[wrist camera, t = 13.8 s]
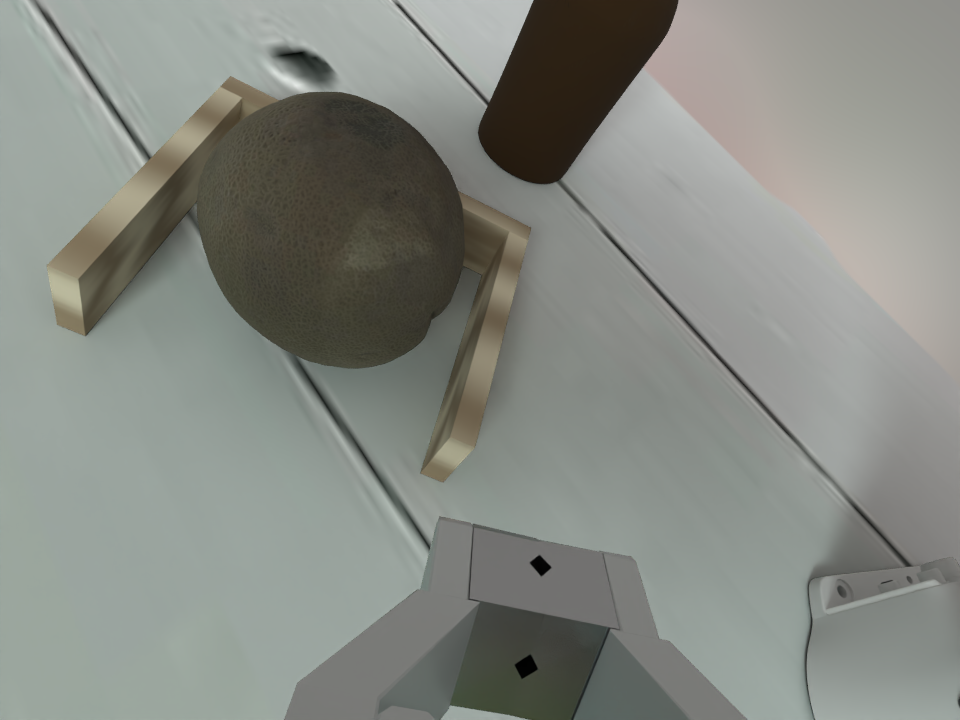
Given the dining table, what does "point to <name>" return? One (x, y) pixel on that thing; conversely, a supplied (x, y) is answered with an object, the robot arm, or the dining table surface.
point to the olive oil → (567, 80)
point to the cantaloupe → (332, 228)
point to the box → (173, 191)
